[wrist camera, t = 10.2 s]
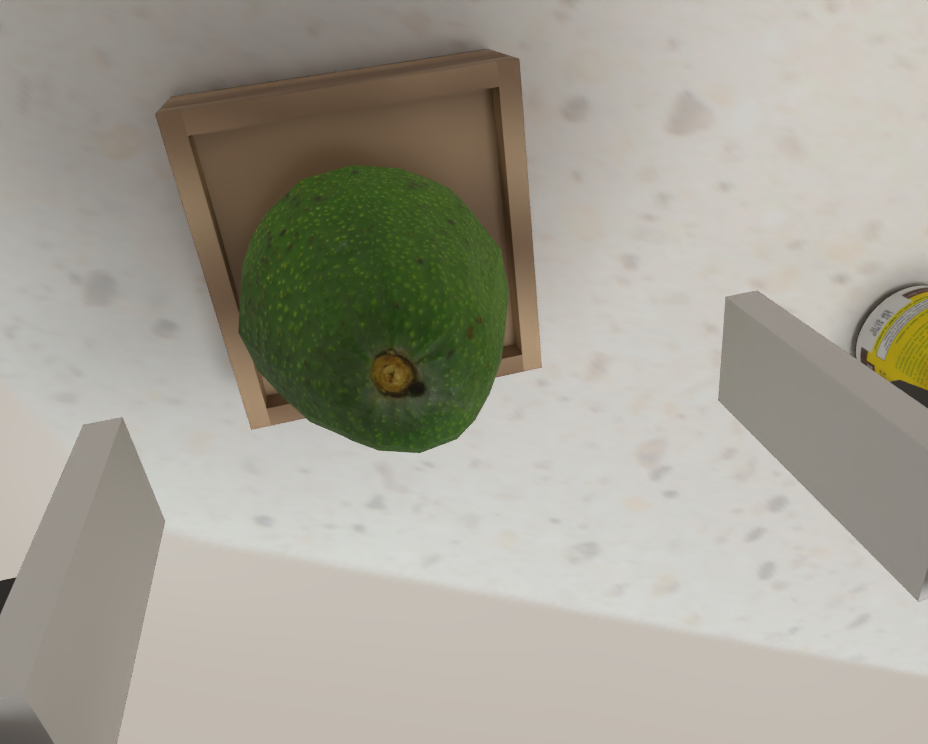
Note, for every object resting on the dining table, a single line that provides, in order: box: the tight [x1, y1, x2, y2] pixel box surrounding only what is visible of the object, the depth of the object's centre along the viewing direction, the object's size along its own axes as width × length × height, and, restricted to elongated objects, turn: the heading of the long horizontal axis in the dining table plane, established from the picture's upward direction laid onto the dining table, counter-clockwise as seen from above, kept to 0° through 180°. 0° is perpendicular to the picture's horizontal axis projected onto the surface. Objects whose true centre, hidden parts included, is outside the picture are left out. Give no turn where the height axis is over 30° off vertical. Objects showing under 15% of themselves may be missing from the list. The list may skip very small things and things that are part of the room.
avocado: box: [238, 165, 509, 453], centre depth 22 cm, size 8×8×12 cm
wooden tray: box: [155, 49, 542, 430], centre depth 28 cm, size 12×12×4 cm
